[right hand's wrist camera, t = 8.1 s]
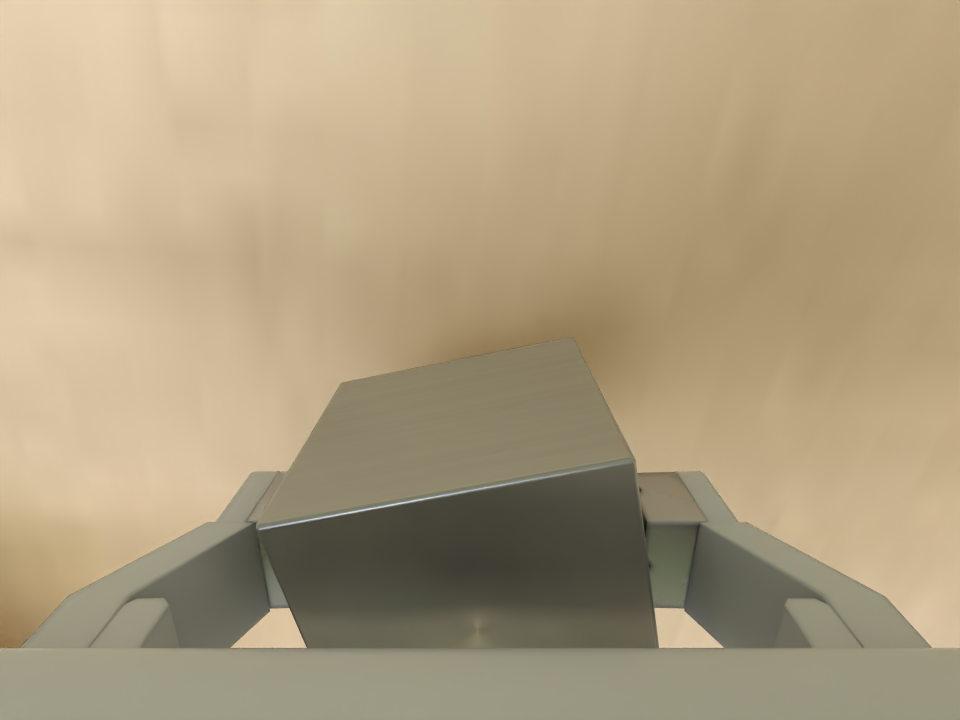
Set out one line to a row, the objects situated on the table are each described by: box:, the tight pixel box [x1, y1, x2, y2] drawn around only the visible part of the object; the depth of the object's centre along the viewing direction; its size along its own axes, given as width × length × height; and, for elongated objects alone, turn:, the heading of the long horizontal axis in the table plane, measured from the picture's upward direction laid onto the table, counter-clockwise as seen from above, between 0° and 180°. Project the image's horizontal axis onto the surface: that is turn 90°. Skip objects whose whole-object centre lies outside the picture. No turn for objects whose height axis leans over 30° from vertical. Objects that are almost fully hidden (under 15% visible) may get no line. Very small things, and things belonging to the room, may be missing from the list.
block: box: [256, 337, 659, 648], centre depth 10 cm, size 5×5×5 cm
